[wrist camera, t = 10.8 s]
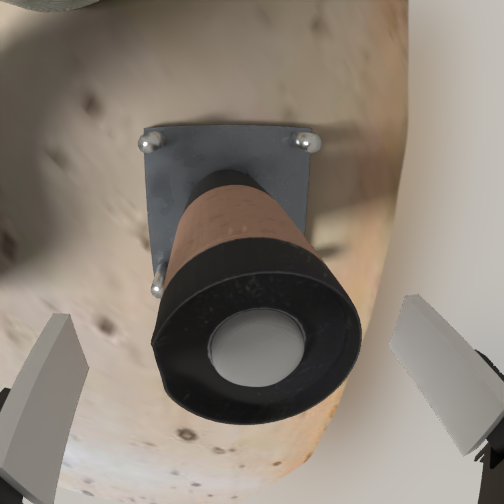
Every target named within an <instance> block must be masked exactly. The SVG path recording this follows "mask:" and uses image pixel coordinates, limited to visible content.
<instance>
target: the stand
mask: <svg viewBox="0 0 504 504" xmlns="http://www.w3.org/2000/svg"><path fill="white" fill-rule="evenodd" d="M311 130H312V128H300V127H284V126H262V125H191V126H169V127H153V128H144V134H143V135H142V136H141V137H140V138H139V141H138V147H139V149H140V150H141V151H142V152H144V160H145V182H146V198H147V212H148V224H149V235H150V245H151V254H152V263H153V271H154V280H153V283H152V287H151V293H152V295H153V296H155V297H156V298H161V296H162V292H163V287H164V282H165V278H166V273H167V269H168V264H169V260H170V256H171V252H172V248H173V243H174V239H175V235H176V231H177V227H178V224H179V221H180V219H181V216H182V214H183V211H184V209H185V206H186V204H187V201H188V199H189V196H190V194H191V192H192V190H193V189H194V187H195V186H196V185H197V183H198V182H199V181H200V180H201V179H203V178H204V177H205V176H207V175H209V174H211V173H213V172H216V171H220V170H235V171H239V172H242V173H244V174H246V175H248V176H250V177H251V178H252V179H254V180H255V181H256V182H257V183H258V184H259V185H260V186H261V187H262V188H263V189H264V190H265V191H266V192H267V193H269V194H270V195H271V196H272V197H273V198H274V199H275V200H276V201H277V203H278V204H279V205H280V206H281V207H282V208H283V210H284V211H285V212H286V213H287V215H288V216H289V217H290V219H291V220H292V221H293V222H294V224H295V225H296V226H297V228H298V229H299V230H300V231H301V233H302V234H303V235H304V233H305V221H306V209H307V196H308V182H309V167H310V153H315V152H317V151H319V149H320V148H321V145H322V141H321V138H320V137H319V136H318V135H317V134H314V133H311Z"/></svg>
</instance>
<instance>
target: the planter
mask: <svg viewBox="0 0 504 504" xmlns="http://www.w3.org/2000/svg"><path fill="white" fill-rule="evenodd" d="M0 1H3V2H6V3H9V4H13V5H16V6H19V7H22V8H25V9H28V10H32V11H38V12H63V11H69V10H74V9H78V8H82V7H85V6H88V5H90V4H93V3H95V2H97V1H99V0H0Z"/></svg>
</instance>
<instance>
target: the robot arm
mask: <svg viewBox="0 0 504 504" xmlns="http://www.w3.org/2000/svg"><path fill="white" fill-rule="evenodd" d="M389 348H390V349H391V351H392V352H393V354H394V355H395V356H396V358H397V359H398V360H399V362H400V363H401V365H402V366H403V367H404V369H405V370H406V372H407V373H408V374H409V376H410V377H411V379H412V380H413V382H414V383H415V384H416V386H417V387H418V389H419V390H420V392H421V393H422V394H423V396H424V397H425V399H426V400H427V402H428V403H429V405H430V406H431V408H432V409H433V410H434V412H435V414H436V415H437V417H438V418H439V420H440V421H441V423H442V424H443V426H444V427H445V429H446V430H447V432H448V433H449V435H450V436H451V438H452V439H453V441H454V443H455V444H456V446H457V447H458V449H459V450H460V452H461V454H462V455H463V456H465V455H467V454H469V453H471V452H472V451H474V450H475V449H477V448H478V447H479V446H480V445H481V444H482V442H483V441H484V440H485V439H487V441H488V443H487V444H486V445H485V447H484V448H483V449H482V450H481V451H480V452H479V453H478V454H477V455H476V457H475V460H474V461H477V460H478V459H479V458H480V457H481V456H482V455H483V454H484V456H483V457H482V458H481V460H480V462H483V472H482V480H481V488H480V494H479V499H478V504H504V375H503V374H502V373H500V372H499V370H498V369H497V368H496V366H493V363H492V362H491V361H490V360H489V359H488V358H487V357H486V356H485V355H484V354H482V353H480V352H479V351H477V350H474V349H473V348H472V347H471V346H470V345H469V344H468V343H467V341H465V340H464V338H463V337H462V336H461V335H460V334H459V333H458V332H457V331H456V330H455V329H454V328H453V327H452V326H450V324H449V323H448V322H447V321H446V320H445V319H444V318H443V317H442V316H441V315H440V314H439V313H438V312H437V311H436V310H435V309H434V308H433V307H431V305H429V304H428V303H427V302H426V301H425V300H424V299H423V298H422V297H421V296H420V295H419V294H415V295H407V296H405V297H404V301H403V304H402V308H401V311H400V314H399V318H398V321H397V324H396V327H395V330H394V333H393V336H392V339H391V341H390V344H389ZM88 370H89V366H88V364H87V361H86V359H85V356H84V354H83V351H82V348H81V346H80V343H79V340H78V337H77V334H76V331H75V328H74V325H73V322H72V319H71V316H70V314H53V315H52V316H51V318H50V320H49V321H48V323H47V324H46V326H45V328H44V329H43V331H42V333H41V335H40V336H39V338H38V340H37V341H36V343H35V345H34V347H33V348H32V350H31V352H30V354H29V356H28V357H27V359H26V361H25V363H24V365H23V367H22V369H21V371H20V372H19V374H18V376H17V378H16V380H15V382H14V384H13V386H12V388H11V389H9V388H4V389H3V390H2V391H1V392H0V504H23V503H22V499H23V496H24V497H25V498H26V499H28V500H29V501H30V502H32V503H33V504H54V499H55V493H56V488H57V483H58V478H59V473H60V469H61V464H62V460H63V456H64V451H65V447H66V443H67V440H68V436H69V432H70V428H71V425H72V421H73V418H74V414H75V411H76V407H77V404H78V401H79V398H80V394H81V391H82V388H83V385H84V382H85V379H86V376H87V373H88Z"/></svg>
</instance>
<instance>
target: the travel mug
mask: <svg viewBox="0 0 504 504" xmlns="http://www.w3.org/2000/svg"><path fill="white" fill-rule="evenodd" d="M361 341H362V329H361V323H360V318H359V316H358V313H357V310H356V308H355V306H354V304H353V303H352V301H351V299H350V298H349V296H348V294H347V293H346V292H345V290H344V289H343V287H342V286H341V285H340V283H339V282H338V281H337V279H336V278H335V276H334V275H333V274H332V272H331V271H330V270H329V268H328V267H327V266H326V264H325V263H324V262H323V260H322V259H321V258H320V256H319V255H318V254H317V252H316V251H315V250H314V248H313V247H312V246H311V244H310V243H309V242H308V241H307V239H306V238H305V237H304V235H303V234H302V233H301V231H300V230H299V229H298V228H297V226H296V225H295V224H294V222H293V221H292V220H291V219H290V217H289V216H288V215H287V213H286V212H285V211H284V210H283V208H282V207H281V206H280V205H279V204H278V203H277V201H276V200H275V199H274V198H273V197H272V196H271V195H270V194H269V193H267V192H266V191H265V190H264V189H263V188H262V187H261V186H260V185H259V184H258V183H257V182H256V181H255V180H254V179H252V178H251V177H250V176H248V175H246V174H244V173H242V172H239V171H235V170H220V171H216V172H213V173H211V174H209V175H207V176H205V177H204V178H203V179H201V180H200V181H199V182H198V183H197V185H196V186H195V187H194V189H193V190H192V192H191V194H190V196H189V199H188V201H187V204H186V206H185V209H184V211H183V214H182V216H181V219H180V221H179V224H178V227H177V231H176V235H175V239H174V243H173V248H172V252H171V256H170V260H169V264H168V269H167V273H166V278H165V282H164V287H163V292H162V296H161V301H160V306H159V311H158V316H157V321H156V326H155V330H154V332H153V336H152V339H151V346H152V347H153V351H154V355H155V359H156V362H157V365H158V368H159V371H160V375H161V378H162V382H163V386H164V389H165V391H166V393H167V394H168V396H169V397H170V398H171V399H172V400H173V401H174V402H175V403H177V404H178V405H179V406H181V407H182V408H184V409H186V410H187V411H189V412H191V413H193V414H195V415H197V416H200V417H202V418H205V419H208V420H211V421H215V422H220V423H225V424H234V425H255V424H265V423H270V422H275V421H279V420H283V419H286V418H289V417H292V416H295V415H297V414H300V413H302V412H304V411H306V410H308V409H310V408H312V407H314V406H315V405H317V404H318V403H320V402H321V401H323V400H324V399H326V398H327V397H328V396H329V395H331V394H332V393H333V392H334V391H335V390H336V389H337V388H338V387H339V386H340V385H341V384H342V383H343V381H344V380H345V379H346V378H347V376H348V375H349V373H350V372H351V370H352V369H353V367H354V364H355V363H356V361H357V358H358V355H359V352H360V347H361Z"/></svg>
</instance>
